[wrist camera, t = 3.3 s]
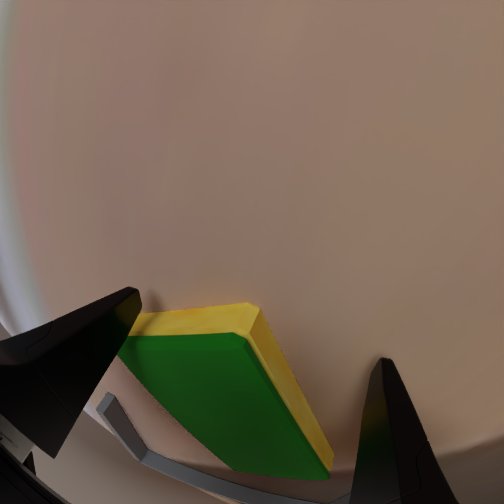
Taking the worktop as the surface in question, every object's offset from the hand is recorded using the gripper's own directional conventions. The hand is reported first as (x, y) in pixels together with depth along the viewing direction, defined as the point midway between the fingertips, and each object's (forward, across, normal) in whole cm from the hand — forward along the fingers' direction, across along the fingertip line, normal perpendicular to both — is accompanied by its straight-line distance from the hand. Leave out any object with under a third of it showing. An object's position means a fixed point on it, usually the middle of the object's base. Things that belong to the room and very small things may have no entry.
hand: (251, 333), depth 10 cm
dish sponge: (+2, 0, +7) cm, 7 cm away
